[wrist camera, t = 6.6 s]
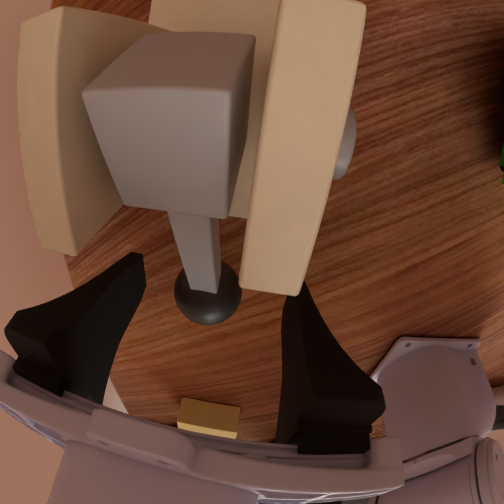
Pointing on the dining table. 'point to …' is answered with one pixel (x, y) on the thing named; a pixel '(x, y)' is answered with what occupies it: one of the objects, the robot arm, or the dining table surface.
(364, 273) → the dining table surface
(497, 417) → the figurine
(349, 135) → the wooden lever stand
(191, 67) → the arcade joystick
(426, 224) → the dining table surface
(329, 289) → the dining table surface
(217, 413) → the butter
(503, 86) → the toy car
